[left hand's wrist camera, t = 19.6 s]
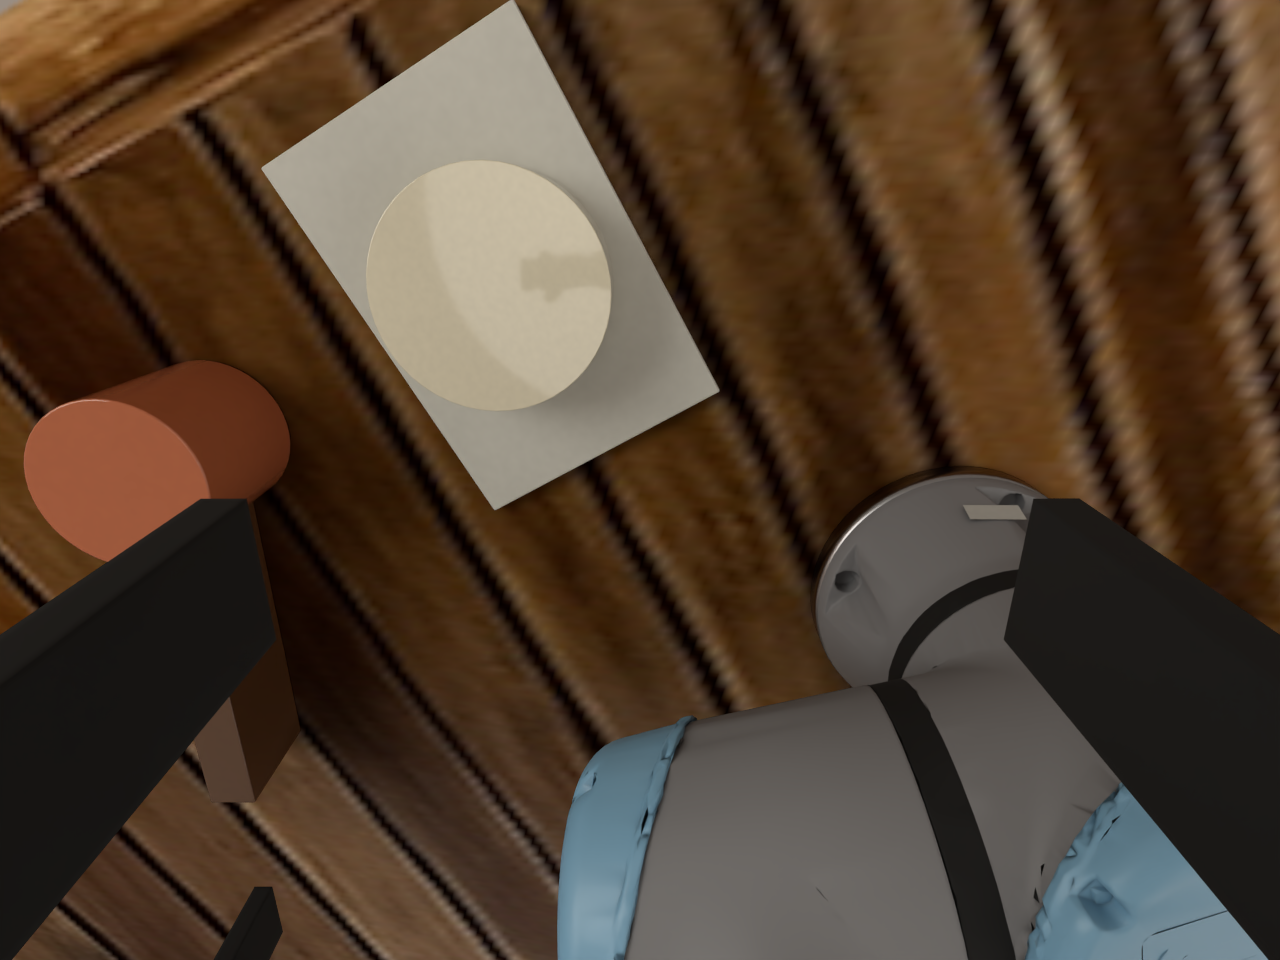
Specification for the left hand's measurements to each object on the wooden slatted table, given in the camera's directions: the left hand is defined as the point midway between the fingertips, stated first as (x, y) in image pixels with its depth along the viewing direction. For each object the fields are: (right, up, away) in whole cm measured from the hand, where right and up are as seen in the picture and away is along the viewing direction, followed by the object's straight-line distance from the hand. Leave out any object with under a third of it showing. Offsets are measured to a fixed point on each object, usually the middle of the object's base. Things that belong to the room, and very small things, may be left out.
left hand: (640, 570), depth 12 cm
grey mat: (-7, +11, +24) cm, 28 cm away
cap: (-7, +11, +23) cm, 27 cm away
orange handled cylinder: (-23, -3, +30) cm, 38 cm away
